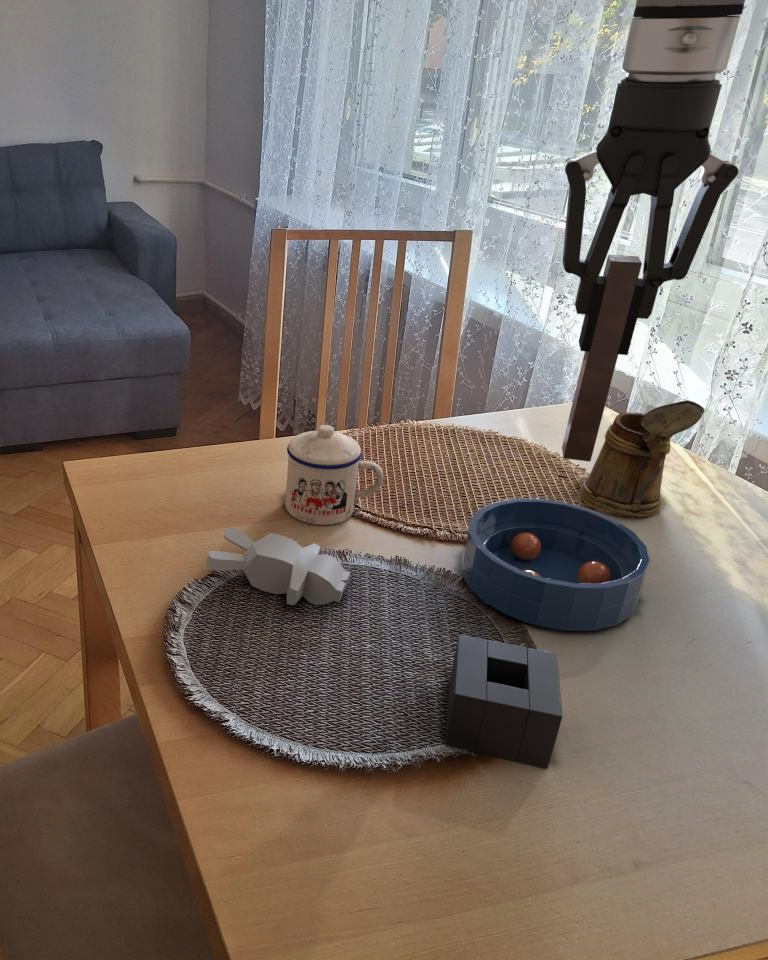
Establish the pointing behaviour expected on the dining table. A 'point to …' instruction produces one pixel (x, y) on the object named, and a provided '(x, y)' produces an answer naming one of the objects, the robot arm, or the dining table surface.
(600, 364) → the stick
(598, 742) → the dining table surface
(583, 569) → the bead
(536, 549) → the bead
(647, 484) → the wooden mug
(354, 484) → the teacup with lid
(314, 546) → the bunny figurine
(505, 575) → the bowl
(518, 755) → the holder
